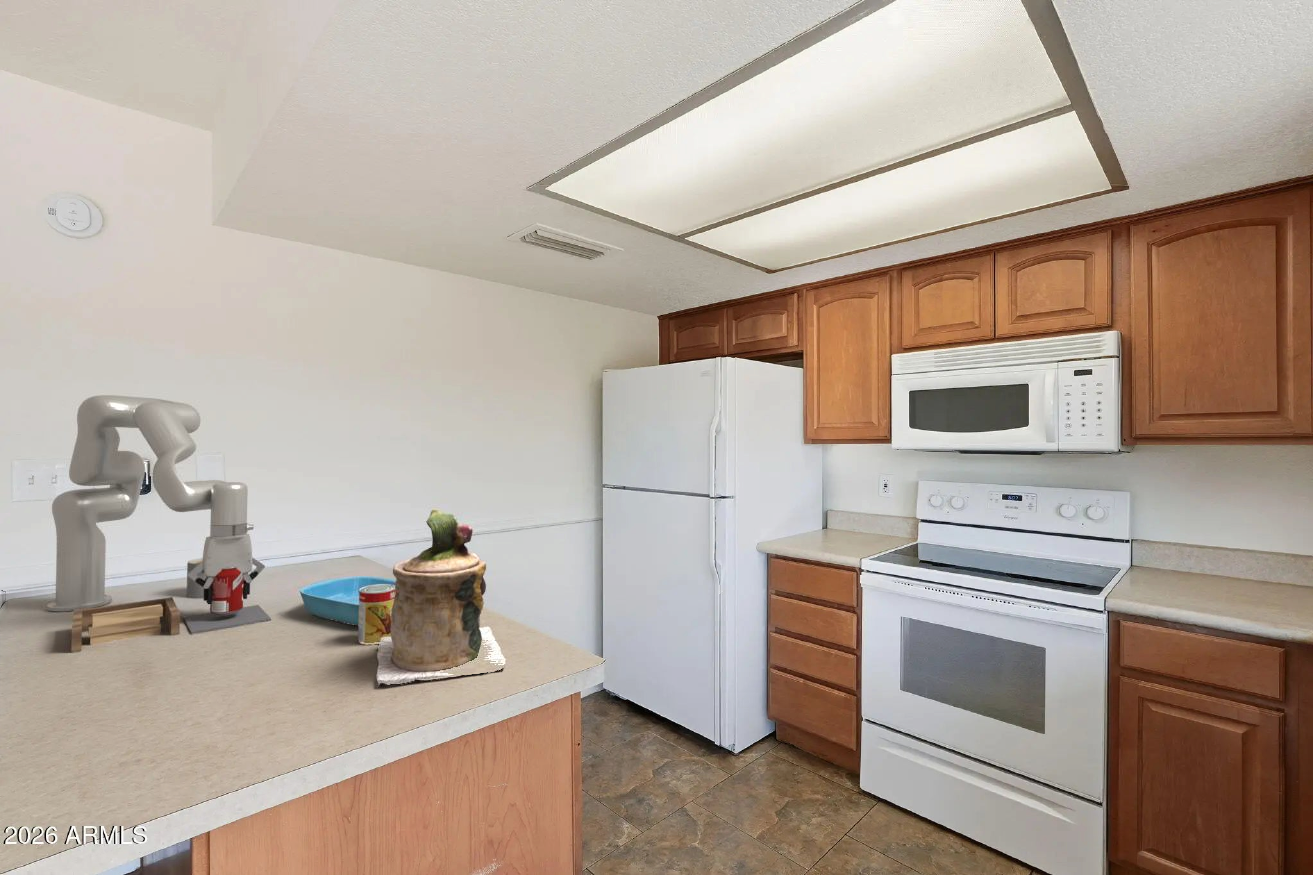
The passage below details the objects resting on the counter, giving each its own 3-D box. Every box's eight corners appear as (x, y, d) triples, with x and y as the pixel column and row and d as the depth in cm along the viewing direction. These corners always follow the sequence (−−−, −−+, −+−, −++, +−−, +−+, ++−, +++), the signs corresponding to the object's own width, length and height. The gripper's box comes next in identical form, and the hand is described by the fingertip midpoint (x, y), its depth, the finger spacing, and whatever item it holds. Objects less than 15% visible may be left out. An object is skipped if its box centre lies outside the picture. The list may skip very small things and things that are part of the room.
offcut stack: (88, 640, 132) (88, 614, 132) (160, 628, 141) (161, 604, 141) (88, 646, 129) (88, 619, 129) (162, 633, 138) (163, 608, 138)
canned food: (401, 639, 136) (402, 588, 136) (366, 647, 130) (367, 594, 130) (387, 631, 141) (388, 582, 141) (352, 639, 136) (353, 587, 136)
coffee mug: (184, 593, 172) (185, 559, 172) (225, 587, 179) (226, 555, 179) (191, 602, 162) (192, 567, 162) (234, 596, 169) (235, 562, 170)
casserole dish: (451, 612, 158) (451, 586, 158) (382, 637, 138) (383, 607, 138) (356, 596, 173) (356, 572, 173) (281, 616, 153) (282, 589, 153)
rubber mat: (183, 618, 149) (183, 616, 149) (258, 606, 160) (258, 604, 160) (191, 634, 137) (191, 632, 137) (271, 620, 148) (271, 618, 148)
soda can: (225, 617, 144) (226, 569, 144) (203, 615, 146) (204, 567, 146) (249, 609, 151) (250, 563, 151) (228, 607, 152) (229, 562, 152)
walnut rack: (73, 631, 137) (73, 610, 137) (171, 616, 150) (172, 597, 150) (71, 652, 125) (71, 629, 125) (179, 633, 137) (179, 612, 137)
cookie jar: (374, 691, 108) (377, 520, 109) (378, 647, 131) (380, 505, 131) (508, 671, 119) (511, 515, 119) (490, 634, 141) (493, 502, 141)
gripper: (265, 525, 157) (264, 591, 157) (183, 532, 145) (181, 603, 145) (271, 529, 152) (270, 597, 152) (187, 536, 140) (185, 610, 140)
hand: (226, 599), depth 148 cm, fingers closed on soda can, 6 cm apart
